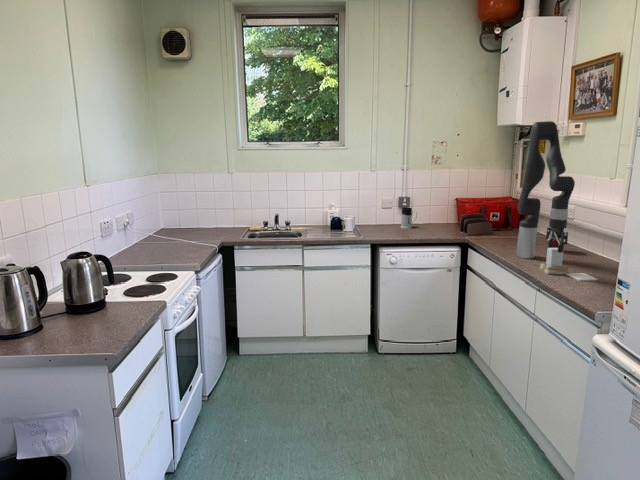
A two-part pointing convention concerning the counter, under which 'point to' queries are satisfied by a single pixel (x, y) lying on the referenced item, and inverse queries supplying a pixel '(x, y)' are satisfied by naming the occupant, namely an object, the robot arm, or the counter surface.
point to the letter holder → (474, 224)
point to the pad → (581, 276)
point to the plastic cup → (555, 244)
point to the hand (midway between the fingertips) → (555, 250)
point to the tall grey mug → (407, 217)
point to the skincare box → (554, 257)
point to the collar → (553, 269)
